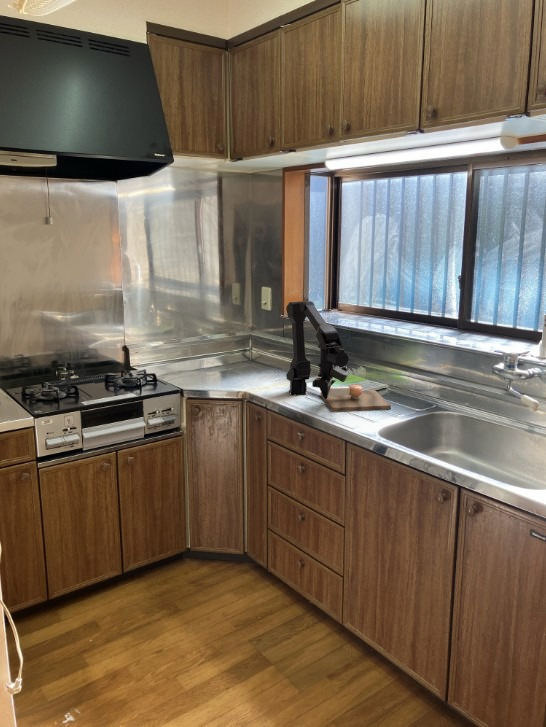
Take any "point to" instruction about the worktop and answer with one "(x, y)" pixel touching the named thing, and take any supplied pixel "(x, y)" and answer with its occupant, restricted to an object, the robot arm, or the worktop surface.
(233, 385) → the worktop surface
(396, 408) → the worktop surface
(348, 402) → the post board
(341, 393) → the orange and white spoon
